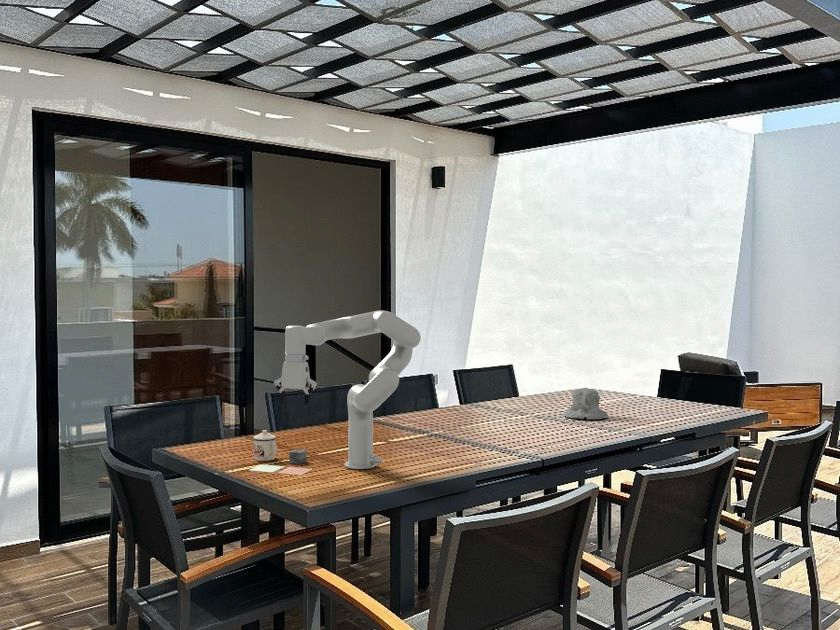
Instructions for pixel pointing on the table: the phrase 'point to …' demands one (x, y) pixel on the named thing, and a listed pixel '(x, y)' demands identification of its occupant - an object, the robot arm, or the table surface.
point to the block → (297, 456)
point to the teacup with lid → (264, 446)
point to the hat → (585, 405)
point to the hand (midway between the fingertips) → (295, 403)
